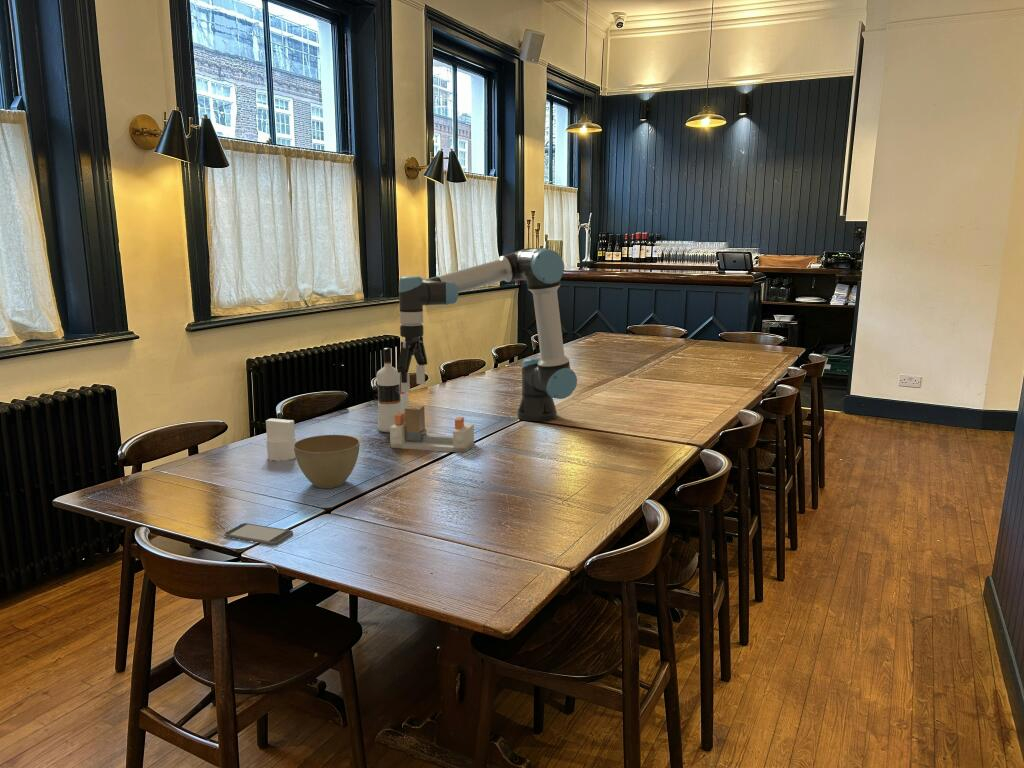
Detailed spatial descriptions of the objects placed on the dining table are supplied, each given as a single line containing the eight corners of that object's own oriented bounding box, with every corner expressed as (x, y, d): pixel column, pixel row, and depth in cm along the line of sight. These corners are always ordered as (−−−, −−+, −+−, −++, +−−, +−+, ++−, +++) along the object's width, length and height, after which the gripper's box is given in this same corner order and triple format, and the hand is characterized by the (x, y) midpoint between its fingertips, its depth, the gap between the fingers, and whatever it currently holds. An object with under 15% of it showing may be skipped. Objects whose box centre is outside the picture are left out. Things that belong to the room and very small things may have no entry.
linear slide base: (474, 444, 247) (473, 415, 245) (464, 453, 238) (464, 423, 236) (402, 439, 254) (401, 411, 252) (390, 447, 244) (389, 418, 242)
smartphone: (274, 543, 168) (222, 534, 174) (274, 547, 168) (222, 538, 174) (294, 530, 175) (243, 522, 180) (294, 535, 175) (244, 526, 180)
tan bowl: (328, 499, 198) (326, 456, 195) (282, 487, 207) (279, 446, 204) (374, 480, 213) (372, 439, 210) (329, 469, 222) (327, 431, 219)
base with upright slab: (302, 454, 238) (300, 418, 235) (285, 462, 230) (283, 425, 227) (279, 451, 241) (276, 416, 238) (261, 459, 232) (258, 422, 230)
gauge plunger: (404, 421, 249) (404, 412, 248) (400, 424, 245) (399, 415, 244) (399, 421, 249) (399, 412, 249) (394, 424, 245) (394, 415, 245)
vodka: (375, 427, 269) (371, 346, 263) (400, 425, 272) (397, 345, 266) (380, 434, 260) (376, 350, 254) (405, 431, 264) (402, 349, 257)
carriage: (426, 437, 248) (425, 406, 246) (421, 441, 244) (420, 409, 241) (410, 436, 250) (408, 405, 248) (404, 440, 245) (403, 408, 243)
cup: (404, 421, 278) (403, 395, 276) (379, 420, 280) (377, 394, 278) (412, 415, 287) (411, 390, 285) (388, 413, 289) (387, 389, 287)
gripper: (414, 319, 252) (416, 380, 256) (385, 328, 228) (387, 395, 232) (435, 320, 250) (436, 381, 254) (408, 329, 226) (409, 396, 230)
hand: (413, 388), depth 243 cm, fingers open, 13 cm apart
